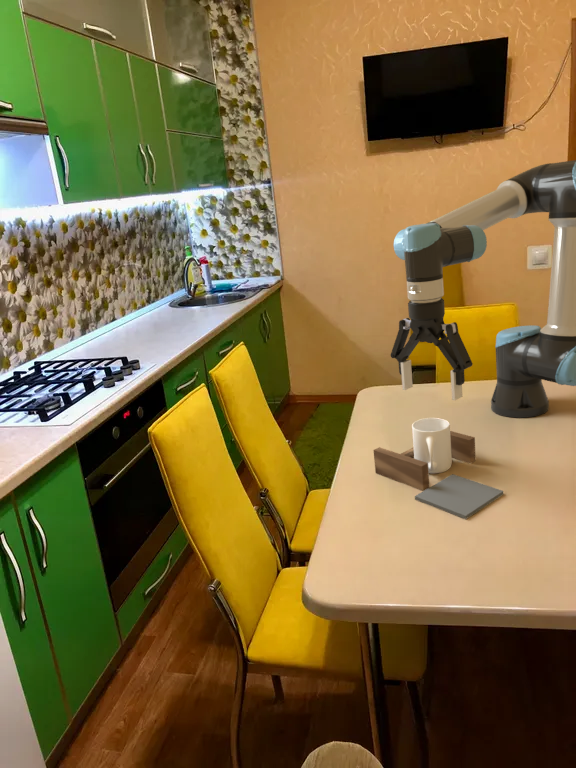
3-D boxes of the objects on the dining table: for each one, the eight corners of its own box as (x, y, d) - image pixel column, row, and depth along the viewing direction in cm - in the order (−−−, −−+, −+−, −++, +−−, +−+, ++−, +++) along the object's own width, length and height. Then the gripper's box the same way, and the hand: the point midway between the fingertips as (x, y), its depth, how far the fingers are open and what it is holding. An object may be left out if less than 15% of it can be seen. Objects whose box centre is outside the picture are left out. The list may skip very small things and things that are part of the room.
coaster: (452, 477, 140) (452, 474, 140) (503, 494, 130) (503, 490, 130) (415, 499, 133) (414, 496, 132) (465, 519, 123) (465, 515, 122)
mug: (413, 481, 141) (409, 438, 137) (415, 458, 152) (412, 418, 148) (452, 481, 138) (449, 437, 135) (452, 458, 149) (449, 417, 146)
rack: (427, 446, 158) (425, 424, 156) (475, 460, 146) (474, 437, 145) (375, 473, 147) (373, 450, 145) (423, 491, 136) (421, 466, 134)
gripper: (370, 299, 138) (378, 389, 144) (465, 306, 119) (469, 408, 126) (392, 293, 142) (399, 380, 149) (487, 298, 124) (490, 397, 130)
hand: (431, 393), depth 137 cm, fingers open, 13 cm apart
